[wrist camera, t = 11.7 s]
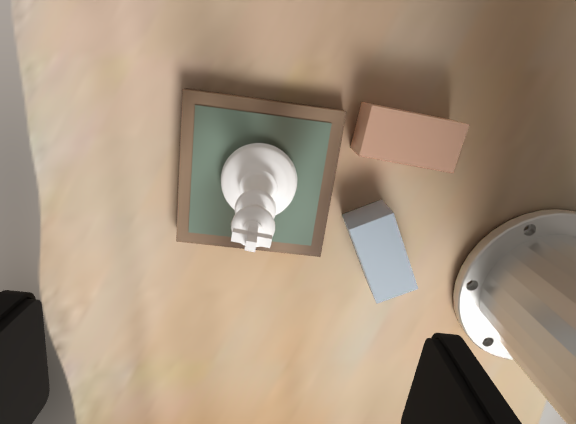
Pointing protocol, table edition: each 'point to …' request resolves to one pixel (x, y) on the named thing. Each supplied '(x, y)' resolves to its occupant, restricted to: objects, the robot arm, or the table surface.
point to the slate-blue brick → (380, 250)
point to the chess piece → (257, 191)
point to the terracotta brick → (408, 137)
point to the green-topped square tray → (246, 130)
